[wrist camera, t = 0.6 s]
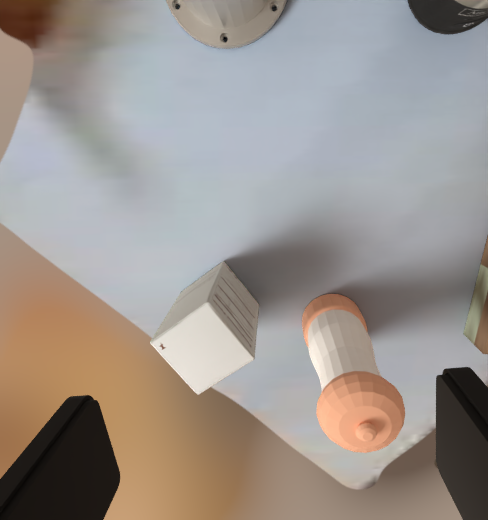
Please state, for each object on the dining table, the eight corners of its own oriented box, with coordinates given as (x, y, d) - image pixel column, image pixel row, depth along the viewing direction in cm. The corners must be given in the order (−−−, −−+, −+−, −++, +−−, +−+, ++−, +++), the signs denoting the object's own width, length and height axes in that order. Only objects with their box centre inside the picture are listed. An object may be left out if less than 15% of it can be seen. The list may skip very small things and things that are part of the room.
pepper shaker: (305, 348, 47) (323, 476, 29) (298, 296, 45) (314, 399, 27) (363, 343, 47) (419, 472, 28) (359, 290, 44) (417, 391, 26)
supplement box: (215, 334, 48) (195, 398, 36) (179, 291, 46) (146, 342, 34) (261, 304, 46) (256, 361, 34) (225, 258, 45) (206, 300, 33)
